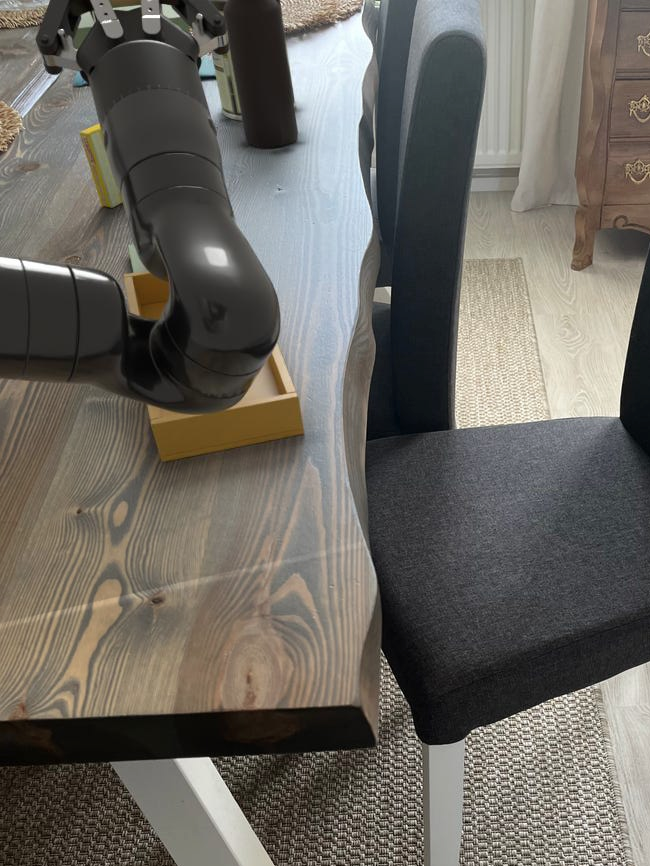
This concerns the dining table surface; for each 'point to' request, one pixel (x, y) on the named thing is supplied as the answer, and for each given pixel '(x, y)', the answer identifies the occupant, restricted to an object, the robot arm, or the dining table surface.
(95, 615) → the dining table surface
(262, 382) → the tray
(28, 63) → the dining table surface
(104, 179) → the candy box
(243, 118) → the bottle
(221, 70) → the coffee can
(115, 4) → the birch bar
